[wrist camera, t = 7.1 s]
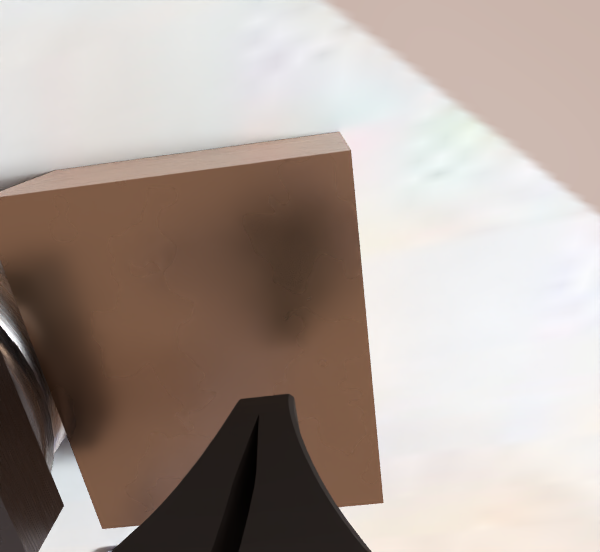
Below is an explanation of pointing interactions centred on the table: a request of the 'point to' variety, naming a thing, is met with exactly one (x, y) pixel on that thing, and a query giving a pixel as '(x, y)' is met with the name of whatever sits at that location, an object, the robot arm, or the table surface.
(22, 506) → the lid
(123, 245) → the cooker
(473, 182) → the table surface
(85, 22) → the table surface
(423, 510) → the table surface
